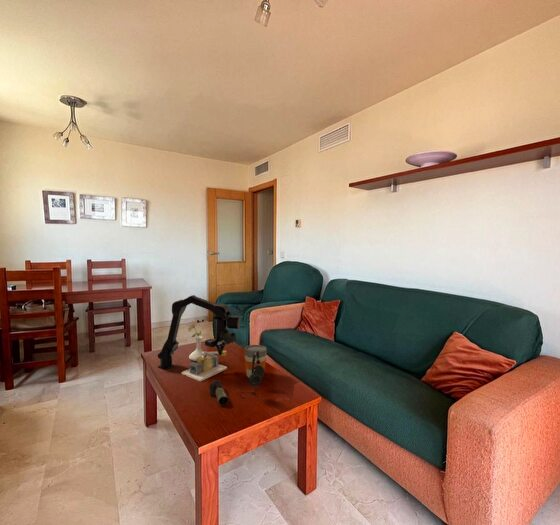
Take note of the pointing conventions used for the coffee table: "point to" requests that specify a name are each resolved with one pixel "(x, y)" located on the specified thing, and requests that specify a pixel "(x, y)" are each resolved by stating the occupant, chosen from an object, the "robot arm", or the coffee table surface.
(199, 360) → the blocks
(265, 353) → the reusable coffee cup
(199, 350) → the white rounded piece
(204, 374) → the mounting board
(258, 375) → the headphones
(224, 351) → the valve lever
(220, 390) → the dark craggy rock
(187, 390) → the coffee table surface
